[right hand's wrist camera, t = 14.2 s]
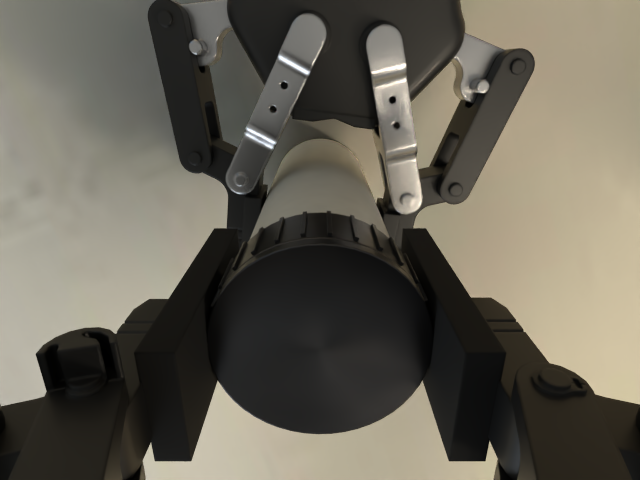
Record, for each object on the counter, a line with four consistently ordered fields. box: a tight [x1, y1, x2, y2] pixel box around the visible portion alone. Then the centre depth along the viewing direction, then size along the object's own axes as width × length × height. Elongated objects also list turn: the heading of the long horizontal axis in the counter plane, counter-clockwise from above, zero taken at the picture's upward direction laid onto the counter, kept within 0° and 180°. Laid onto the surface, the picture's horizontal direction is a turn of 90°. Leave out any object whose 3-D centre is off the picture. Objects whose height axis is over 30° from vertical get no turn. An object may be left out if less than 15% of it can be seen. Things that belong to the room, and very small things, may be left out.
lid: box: [207, 211, 434, 434], centre depth 11 cm, size 6×6×2 cm
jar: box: [250, 139, 390, 239], centre depth 18 cm, size 5×5×15 cm
